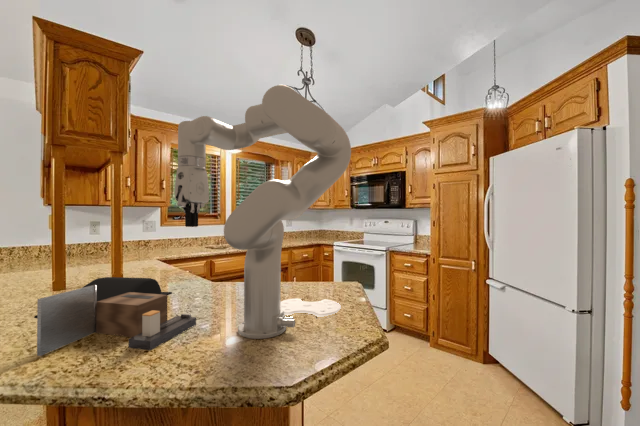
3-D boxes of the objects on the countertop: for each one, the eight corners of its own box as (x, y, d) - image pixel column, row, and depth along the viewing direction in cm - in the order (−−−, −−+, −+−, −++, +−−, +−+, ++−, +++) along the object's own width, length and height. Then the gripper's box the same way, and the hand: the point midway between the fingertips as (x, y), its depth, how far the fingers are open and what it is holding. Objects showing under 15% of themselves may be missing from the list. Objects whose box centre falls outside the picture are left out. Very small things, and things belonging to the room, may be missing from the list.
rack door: (40, 356, 62) (41, 299, 63) (32, 355, 63) (32, 298, 63) (97, 331, 76) (97, 284, 76) (90, 331, 76) (90, 284, 76)
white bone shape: (279, 294, 109) (346, 296, 106) (279, 299, 109) (346, 301, 106) (261, 312, 89) (344, 316, 86) (261, 318, 89) (344, 322, 86)
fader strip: (195, 324, 82) (195, 315, 82) (150, 350, 66) (150, 338, 66) (177, 322, 83) (177, 313, 83) (128, 347, 68) (128, 335, 68)
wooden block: (167, 323, 83) (167, 294, 83) (137, 337, 73) (137, 305, 73) (129, 319, 86) (129, 291, 86) (95, 332, 76) (96, 301, 76)
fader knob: (160, 331, 72) (160, 310, 72) (150, 336, 69) (150, 315, 69) (152, 330, 72) (152, 310, 72) (142, 335, 69) (142, 314, 69)
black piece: (115, 293, 117) (34, 319, 87) (115, 272, 117) (34, 291, 87) (172, 295, 115) (108, 323, 85) (172, 273, 115) (108, 293, 85)
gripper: (185, 159, 79) (185, 227, 79) (217, 168, 93) (217, 225, 93) (162, 160, 81) (161, 227, 81) (197, 169, 95) (196, 225, 95)
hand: (191, 226), depth 87 cm, fingers closed
